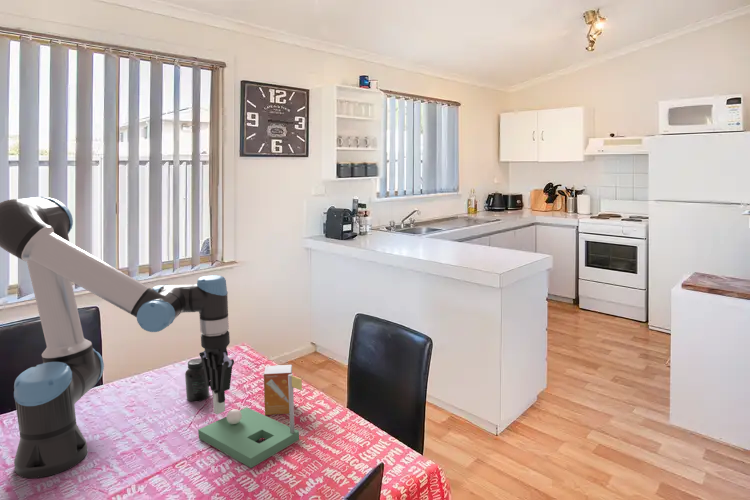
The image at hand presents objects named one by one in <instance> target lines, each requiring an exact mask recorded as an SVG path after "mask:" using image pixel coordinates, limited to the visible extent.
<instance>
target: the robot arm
mask: <svg viewBox="0 0 750 500" xmlns="http://www.w3.org/2000/svg"><path fill="white" fill-rule="evenodd" d="M73 224H74V219H73V215H72V213H71V211H70V209H69V208H68V207H67V206H66V204H64V203H63V202H61V201H59V200H58V199H56V198H52V197H48V196H33V197H26V198H25V197H24V198H13V199H6V200H4V201H2V202H0V248H1V249H3V250H4V251H5V252H7V253H8V254H11V255H12V256H15V257H16V258H18V259H20V260H22V261H24V262H26V264H27V268H28V273H29V276H30V281H31V285H32V288H33V289H32V290H33V294H34V298H35V302H36V306H37V311H38V314H39V319H40V320H39V321H40V324H41V328H42V332H43V335H44V341H45V345H46V348H45V349H44V350H43V352H42V353H41V359H42V363H40V364H36V366H31V367H29V368H27V369H26V370H24V371H22V372H21V373H20V374H19V375H18V376H17V377H16V378H15V380H14V385H13V389H14V391H13V398H14V402H15V409H16V416H17V422H18V431H19V443H18V446H17V449H16V454H15V458H14V461H13V465H14V472H15V474H16V475H17V476H19V477H22V478H24V479H25V478H27V479H35V478H37V479H38V478H44V477H49V476H52V475H56V474H60V473H62V472H64V471H67V470H69V469H71V468H73V467H74V466H76V465H77V464H78V463H80V462H81V461H83V459H84V458H85V457H86V456H87V454H88V444H87V443H88V442H87V441H86V438H85V437H84V435H83V433H82V432H81V429H80V428H79V425H78V424H77V418H76V405H75V404H76V403H77V402H78V401H79V400H80V399H82V397H83V396H85V395H86V394H87V393H88V392H89V391H90V390H92V389H93V388H94V387H95V386H96V384H97V383H98V382H99V380H100V379H101V378H102V376H103V373H104V370H105V363H104V359H103V357H102V355H101V354H100V352H98V351H96V349H95V348H94V346H93V343H92V341H91V340H88V338H87V339H86V338H85V336H84V332H83V327H82V323H81V319H80V315H79V314H80V313H79V310H78V305H77V300H76V296H75V291H74V288H73V287H74V286H73V284H75V285H76V286H78V287H80V288H83V289H84V290H86V291H88V292H90V293H91V294H94V295H95V296H97V297H98V298H101V299H102V300H104V301H106V302H108V303H110V304H112V305H114V307H115V306H116V307H117V308H119V309H121V310H123V311H124V312H126V313H128V314H129V315H132V316H133V317H135V318H136V321H137V324H138V325H139V327H140V328H141V329H143V330H144V331H146V332H149V333H158V332H160V331H163V330H164V329H166V328H169V326H170V325H171V324H173V322H174V321H175V320H176V318H177V317H179V315H181V314H183V313H198V315H199V331H200V333H201V334H200V344H201V347H202V348H203V349H204V351H200V352H199V357H200V359H201V360H202V364H203V369H204V374H205V379H206V384H207V386H209V389H210V390H211V391H212V401H213V402H212V404H213V405H212V406H213V413H214V414H215V415H219V414H222V413H223V412H225V411H226V392H227V391H228V390H230V389H231V381H232V372H233V366H234V364H235V359H233V358H232V359H230V358H229V352H228V347H229V345H230V342H231V339H230V338H231V337H230V331H229V329H230V326H229V306H228V305H229V304H228V303H229V302H228V301H229V300H228V293H229V292H228V287H227V279H226V278H225V277H224V276H222V275H219V274H217V275H215V274H213V275H212V274H211V275H203V276H200V277H198V278H197V282H196V283H195V284H163V285H155V286H153V287H152V288H150V287H149V286H147V285H146V284H143V283H142V282H140V281H139V280H136V279H135V278H133V277H131V276H130V275H128V274H126V273H124V272H123V271H121V270H120V269H118V268H115V267H114V266H113V265H110V264H108V263H106V261H103V260H101V259H99V258H98V257H97V256H95V255H93V254H91V253H89V252H87V251H85V250H84V249H82V248H80V247H78V246H77V245H75V244H73V243H71V242H70V238H69V233H70V232H71V230H72V229H73Z"/></svg>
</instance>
